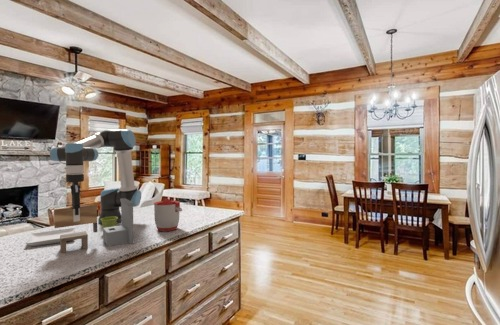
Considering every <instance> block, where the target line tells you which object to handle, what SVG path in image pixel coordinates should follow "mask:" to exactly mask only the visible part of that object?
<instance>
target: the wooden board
mask: <svg viewBox="0 0 500 325" xmlns="http://www.w3.org/2000/svg"><path fill="white" fill-rule="evenodd" d="M97 207H98V204H87V205H86V204H84V205H80V221H77V222H73V209H72V208H73V207H72V206H67V207H65V206H64V207H55V208H53V217H54V218H53V220H54V221H53V222H54V225H53V226H54V229H58V228H59V229H60V228H66V227H73V226H80V225H81V226H82V225H88V224H92V228H93V229H92V230H93V233H98V208H97Z"/></svg>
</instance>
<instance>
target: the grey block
mask: <svg viewBox="0 0 500 325" xmlns="http://www.w3.org/2000/svg"><path fill="white" fill-rule="evenodd" d="M120 202H121V207H120V210H121V211H120V213H121V222H120V223H121V225H116V226H113V227H106V228H103V227H102V237H103V238H102V240H103V242H104V243H105V246H106V247H111V246H118V245H122V244H129V245H131V244H134V242H135V240H134V236H135V234H134V233H135V232H134V207H133V206H134V202H131V201H129V200H127V199H125V198H124V199H120Z"/></svg>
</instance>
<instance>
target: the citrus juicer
mask: <svg viewBox="0 0 500 325" xmlns="http://www.w3.org/2000/svg"><path fill="white" fill-rule="evenodd" d="M180 203H181V202H180V201H179V200H171V199H170V198H168V197H165V198H164V200H161V201H160V200H159V201H155V202H153V204H154V208H153V210H154V223H155V227H156V230H157V231H159V232H172V231H175V230H176V229H178V226H179V222H180V212H182V211H183V209H182V207H181V204H180Z"/></svg>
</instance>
